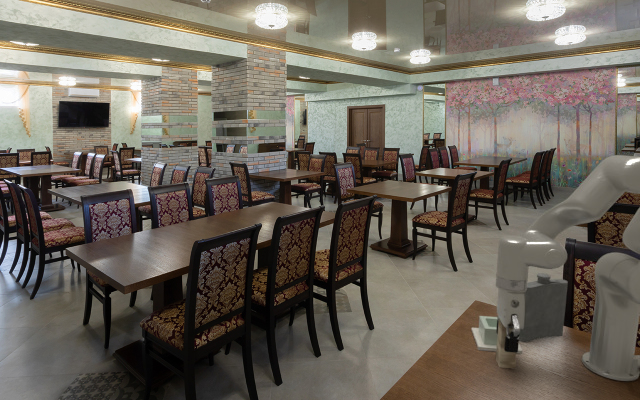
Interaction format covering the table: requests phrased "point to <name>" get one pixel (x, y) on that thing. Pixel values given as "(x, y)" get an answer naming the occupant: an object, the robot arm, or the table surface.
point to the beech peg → (502, 356)
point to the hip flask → (544, 308)
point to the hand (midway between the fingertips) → (506, 342)
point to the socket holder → (488, 334)
